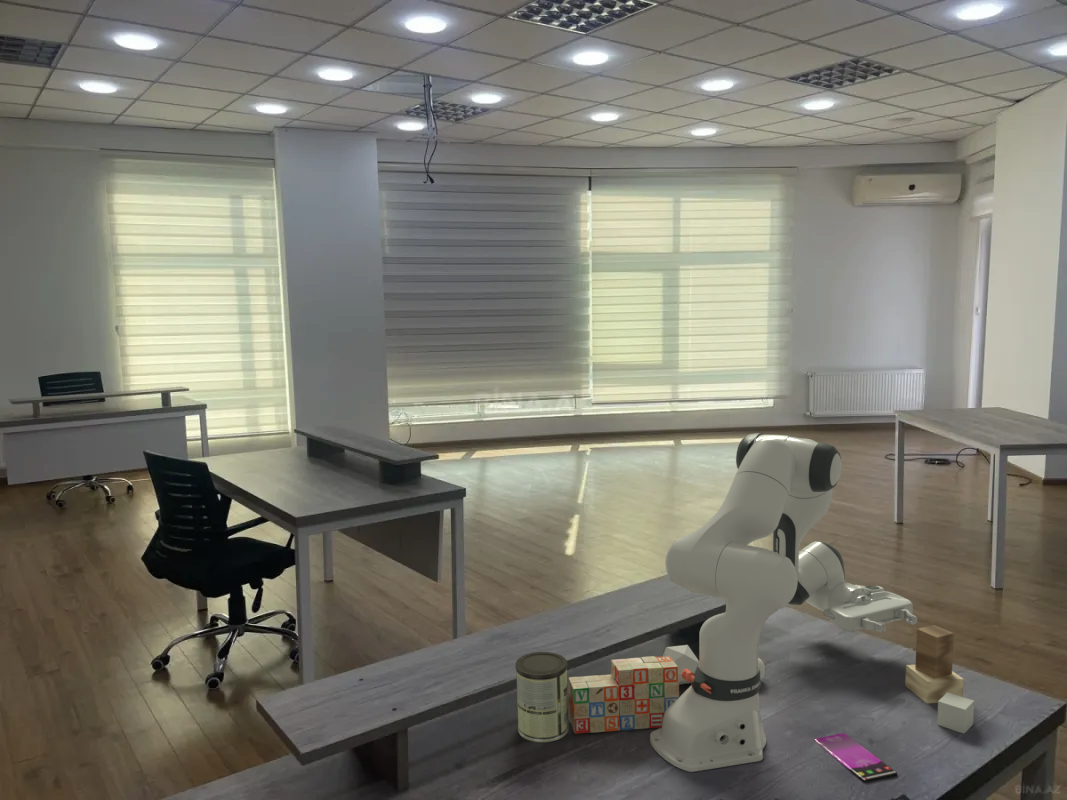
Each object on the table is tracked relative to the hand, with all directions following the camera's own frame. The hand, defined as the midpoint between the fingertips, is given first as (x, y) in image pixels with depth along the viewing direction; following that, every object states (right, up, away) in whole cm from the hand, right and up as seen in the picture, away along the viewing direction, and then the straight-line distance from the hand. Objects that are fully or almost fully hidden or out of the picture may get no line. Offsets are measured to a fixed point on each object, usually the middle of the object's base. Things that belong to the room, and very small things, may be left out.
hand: (899, 624), depth 183 cm
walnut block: (+4, -8, -8) cm, 12 cm away
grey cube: (+2, -14, -20) cm, 25 cm away
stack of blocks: (-63, -16, -17) cm, 67 cm away
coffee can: (-80, -16, -18) cm, 83 cm away
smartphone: (-22, -17, -31) cm, 41 cm away
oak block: (+4, -13, -7) cm, 15 cm away
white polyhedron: (-49, -13, +1) cm, 51 cm away
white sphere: (-33, -13, +2) cm, 35 cm away
